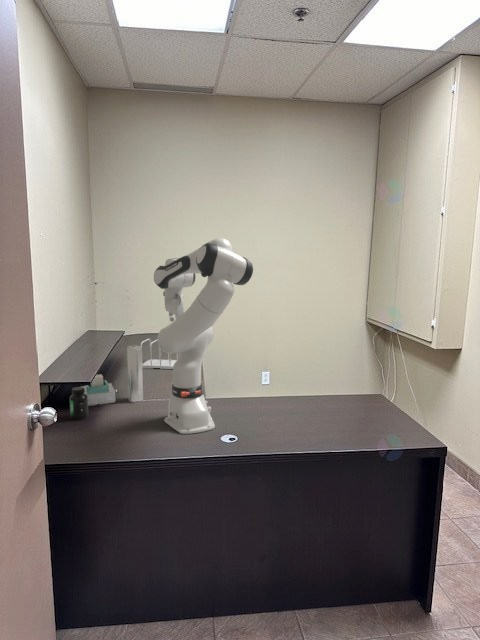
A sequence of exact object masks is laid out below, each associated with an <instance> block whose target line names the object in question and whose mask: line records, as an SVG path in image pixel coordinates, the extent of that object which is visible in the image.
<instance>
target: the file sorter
mask: <svg viewBox="0 0 480 640" xmlns="http://www.w3.org/2000/svg"><path fill="white" fill-rule="evenodd" d="M147 341H149V356H150V359H148V360H146V361H145V362H142V369H153V368H160V369H159V370H161V369H162V370H173V366H174V363H175V362H176V361H177V360H178V359H179V357H180V355H181V352H180V353H176V359H172V358H171V356H172V353H167V359H162V353H161V351H162V350H161V348H160V347H159V346H158V358H155V359H154V358H152V345H153V344H154V343H155V342H158V338H157V339H155V340H154V341H152V340H151V339H150V338H147V339H144V340H142V341H141V343H140V347H141V348H142V349H143V343H145V342H147Z"/></svg>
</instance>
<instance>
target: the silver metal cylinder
mask: <svg viewBox="0 0 480 640" xmlns="http://www.w3.org/2000/svg"><path fill="white" fill-rule="evenodd" d="M126 351H127V352H126V354H127V355H126V357H127V360H126V361H127V382H128V383H127V384H128V385H127V386H128V389H127V390H128V391H127V392H128V402H131V403H136V402H135V401H140V402H142V401H143V400H144V391H143V390H144V388H143V387H144V385H143V383H144V381H143V379H144V377H143V368H142V364H143V347H142V348H141V345H139V344H138V345H135V344H134V345H133V344H132V345H128V346H127V348H126ZM141 400H142V401H141Z"/></svg>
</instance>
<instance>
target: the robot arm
mask: <svg viewBox="0 0 480 640" xmlns="http://www.w3.org/2000/svg"><path fill="white" fill-rule="evenodd" d="M253 273H254V267H253V263H252V262H251V261H250V260H249V259H248V258H246V257H244V256H241V255H240V254H237V253H236V252H235V251H234V249H233V245H232V244H231V242H230V241H229V240H228V239H226V238H224V237H218V238H214V239H212V240H210V241H208V242H206V243H205V244H203V245H202V246H201V247H199V248H197V249H195V250H194V251H192V252H190V253H188V254H186V255H184V256H181V257H179V258H177V257H175V258H169V259H166V260H165V263H164V265H159V266H158V267H157V268H156V269H155V270H154V274H153V281H154V283H155V284H156V286H157V287H159V289H161V290H163V293H162V295H163V297H164V309H165V311H166V312H168V316H169V322H172V323H170V324H168V325H167V326H165V327H163V328H162V329H160V331H159V332H158V333H157V334H158V335H157V339H158V340H157V345H158V348H159V347H160V348H161V351H162V352H164V353H165V354H168V353H171V354H177V353H178V354H179V353H180V357H179V356H178V360H177V359H176V360H177V361H176V362H175V363H174V366H173V369H172V385H171V393H172V394H171V395H172V396H171V398H169V399H168V407H167V410H168V411H167V412H168V413H167V416H166V417H165V418H164V419H163V421H164V422H165V424H167V425H169V426H170V427H171V428H172V429H174V430H176V432H178V433H179V434H185V435H186V434H187V435H188V434H196V433H197V434H198V433H202V432H208V431H210V430H214V429H215V428H216V425H215V422H214V420H213V418H212V416H211V414H210V413H212V407H211V406H208V403H209V402H208V400H206V399H205V395H204V391H203V390H204V389H203V384H202V365H203V359H204V356H205V353H206V351H207V350H208V347H209V345H210V344H211V343H212V342H213V339H214V330H213V326H214V325H215V324H216V322H217V321H218V319H219V318H220V316H221V315H222V314H223V313H224V311H225V310H226V308H227V306H228V305H229V303H230V301H231V300H232V298H233V296H234V293H235V286H236V285H238V286H244V285H246V284H247V283H249V281H250V279H251V278H252V276H253ZM196 274H200V275H201V276H202V278H206V277H207V281H206V283H205V285H204V287H203V288H202V289H201V290H200V292H198V295H197V296H196V298H195V299H194V301H193V302H192V303H191V305H190V306H189V307H188V308H187V310H185V307H184V306H185V305H184V304H185V303H184V299H183V298H184V288H189V287H192V286H193V285H194V284H195V282H196ZM234 285H235V286H234ZM174 315H175V317H174Z"/></svg>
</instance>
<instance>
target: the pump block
mask: <svg viewBox="0 0 480 640" xmlns="http://www.w3.org/2000/svg"><path fill="white" fill-rule="evenodd" d="M95 375H96V376H95V378H94V379H93V381H92V383H91V384H90V385H91V387H93V386H103V380H104V376H103V374H95Z"/></svg>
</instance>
